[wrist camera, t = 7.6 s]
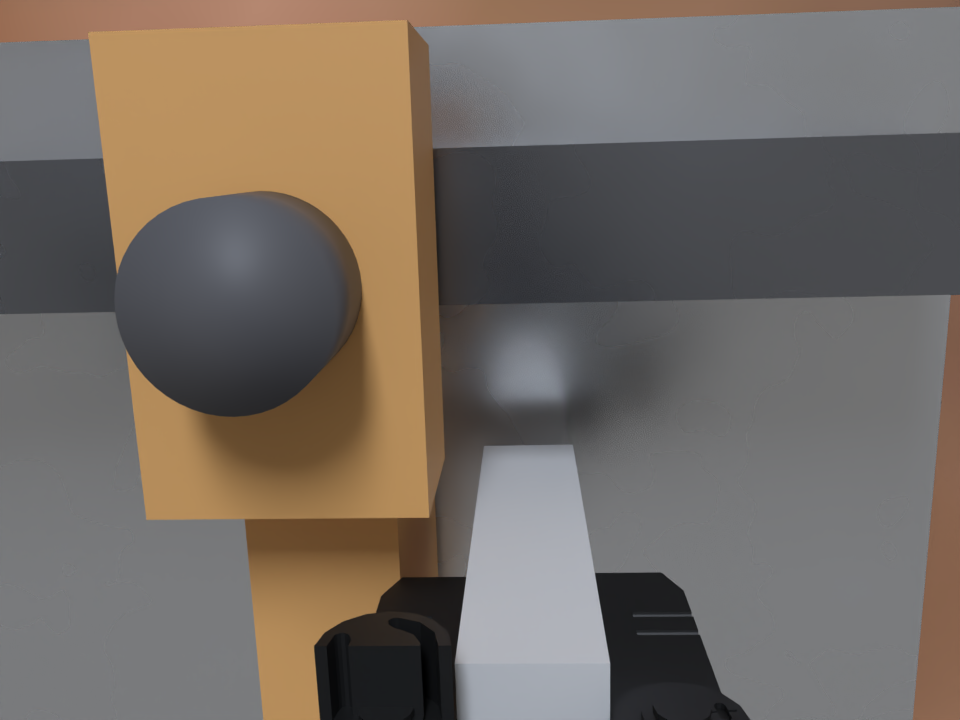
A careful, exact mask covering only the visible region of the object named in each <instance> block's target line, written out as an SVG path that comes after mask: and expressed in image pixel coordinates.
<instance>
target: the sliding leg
mask: <svg viewBox="0 0 960 720" xmlns="http://www.w3.org/2000/svg"><path fill="white" fill-rule="evenodd" d="M88 36H89V44H90V53H91V61H92V69H93V78H94V86H95V95H96V103H97V111H98V120H99V128H100V136H101V145H102V153H103V161H104V170H105V178H106V186H107V195H108V203H109V211H110V220H111V228H112V237H113V245H114V253H115V262H116V270H117V278H116V283H115V295H114V302H115V315H116V320H117V325H118V329H119V332H120V335H121V338H122V341H123V343H124V345H125V348H126V353H127V362H128V370H129V378H130V387H131V395H132V404H133V412H134V420H135V429H136V437H137V445H138V454H139V462H140V470H141V479H142V487H143V495H144V504H145V512H146V520H192V519H245V529H246V540H247V550H248V561H249V572H250V582H251V593H252V604H253V615H254V625H255V636H256V647H257V657H258V668H259V679H260V689H261V700H262V711H263V720H320V714H319V702H318V690H317V678H316V666H315V654H314V645H315V644H316V643H317V642H318V640H319V639H320V638H321V636H322V635H323V634H324V633H325V632H326V631H328V630H330V629H331V628H333V627H335V626H336V625H338V624H340V623H341V622H343V621H346V620H349V619H352V618H355V617H358V616H362V615H365V614H371V613H376V610H377V607H378V604H379V601H380V598H381V596H382V595H383V594H384V593H385V592H386V591H387V590H388V589H389V588H391V587H392V586H393V585H394V584H395V583H396V582H397V581H399V580H400V579H401V578H402V577H438V558H437V535H436V511H435V494H436V490H437V486H438V482H439V478H440V475H441V471H442V467H443V463H444V459H445V448H444V423H443V397H442V372H441V347H440V321H439V296H438V270H437V245H436V220H435V194H434V169H433V143H432V118H431V93H430V67H429V45H428V44H427V43H426V41H425V40H424V39H423V38H422V37H421V36H420V34H419V33H418V32H417V31H416V30H415V29H414V27H413V26H412V25H411V24H410V23H409V22H408V20H395V21H369V22H342V23H316V24H289V25H263V26H237V27H210V28H184V29H157V30H131V31H105V32H88Z"/></svg>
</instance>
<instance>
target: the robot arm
mask: <svg viewBox="0 0 960 720" xmlns="http://www.w3.org/2000/svg"><path fill="white" fill-rule="evenodd" d="M314 654H315V666H316V678H317V690H318V702H319V714H320V720H750V718H749V717H748V716H747V714H746V713H745V711H744V710H743V709H742V707H741V706H740V705H739V704H737V703H736V702H734V701H733V700H731V699H730V698H728V697H727V696H725V695H724V694H722V693H721V690H720V688H719V685H718V682H717V680H716V677H715V674H714V671H713V669H712V666H711V663H710V661H709V658H708V655H707V652H706V650H705V647H704V644H703V642H702V639H701V636H700V635H699V634H698V628H697V625H696V622H695V620H694V617H693V616H692V612H691V609H690V606H689V603H688V601H687V598H686V595H685V593H684V590H682V589H681V588H680V587H679V586H677V585H676V584H675V583H674V582H673V581H671V580H670V579H669V578H668V577H667V576H665V575H664V574H663V573H662V572H643V573H595V572H594V566H593V560H592V554H591V548H590V542H589V537H588V531H587V525H586V519H585V513H584V507H583V501H582V496H581V490H580V484H579V478H578V472H577V466H576V460H575V455H574V449H573V445H514V446H484V450H483V457H482V465H481V472H480V480H479V487H478V495H477V502H476V509H475V517H474V524H473V532H472V539H471V547H470V554H469V561H468V569H467V576H466V577H402V578H401V579H400V580H399V581H397V582H396V583H395V584H394V585H393V586H392V587H391V588H389V589H388V590H387V591H386V592H385V593H384V594H383V595H382V596H381V598H380V601H379V604H378V607H377V610H376V613H371V614H365V615H362V616H358V617H355V618H352V619H349V620H346V621H343V622H341V623H340V624H338V625H336V626H335V627H333V628H331V629H330V630H328V631H326V632H325V633H324V634H323V635H322V636H321V638H320V639H319V640H318V642H317V643H316V644H315V645H314Z"/></svg>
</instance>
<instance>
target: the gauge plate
mask: <svg viewBox="0 0 960 720" xmlns="http://www.w3.org/2000/svg"><path fill="white" fill-rule="evenodd" d="M414 29H415V30H416V31H417V32H418V33H419V34H420V36H421V37H422V38H423V39H424V40H425V41H426V43H427V44H428V45H429V67H430V93H431V118H432V143H433V169H434V194H435V220H436V245H437V270H438V296H439V321H440V347H441V372H442V397H443V423H444V448H445V459H444V463H443V467H442V471H441V475H440V478H439V482H438V486H437V490H436V494H435V511H436V535H437V558H438V577H466V576H467V569H468V561H469V554H470V547H471V539H472V532H473V524H474V517H475V509H476V502H477V495H478V487H479V480H480V472H481V465H482V457H483V450H484V446H514V445H573V449H574V455H575V460H576V466H577V472H578V478H579V484H580V490H581V496H582V501H583V507H584V513H585V519H586V525H587V531H588V537H589V542H590V548H591V554H592V560H593V566H594V572H595V573H643V572H662V573H663V574H664V575H665V576H667V577H668V578H669V579H670V580H671V581H673V582H674V583H675V584H676V585H677V586H679V587H680V588H681V589H682V590H684V593H685V595H686V598H687V601H688V603H689V606H690V609H691V612H692V616H693V617H694V620H695V622H696V625H697V628H698V634H699V635H700V636H701V639H702V642H703V644H704V647H705V650H706V652H707V655H708V658H709V661H710V663H711V666H712V669H713V671H714V674H715V677H716V680H717V682H718V685H719V688H720V690H721V693H722V694H724V695H725V696H727V697H728V698H730V699H731V700H733V701H734V702H736V703H737V704H739V705H740V706H741V707H742V709H743V710H744V711H745V713H746V714H747V716H748V717H749V718H750V720H913V709H914V698H915V686H916V675H917V664H918V653H919V642H920V631H921V620H922V608H923V597H924V586H925V575H926V564H927V553H928V541H929V530H930V519H931V508H932V497H933V486H934V475H935V463H936V452H937V441H938V430H939V419H940V408H941V397H942V385H943V374H944V363H945V352H946V341H947V330H948V319H949V307H950V296H951V295H960V7H943V8H916V9H890V10H863V11H836V12H809V13H783V14H756V15H729V16H702V17H676V18H649V19H622V20H596V21H569V22H542V23H515V24H489V25H462V26H435V27H414ZM116 278H117V270H116V262H115V253H114V245H113V237H112V228H111V220H110V211H109V203H108V195H107V186H106V178H105V170H104V161H103V153H102V145H101V136H100V128H99V120H98V111H97V103H96V95H95V86H94V78H93V69H92V61H91V53H90V44H89V39H88V40H61V41H34V42H8V43H0V720H263V711H262V700H261V689H260V679H259V668H258V657H257V647H256V636H255V625H254V615H253V604H252V593H251V582H250V572H249V561H248V550H247V540H246V529H245V519H192V520H146V512H145V504H144V495H143V487H142V479H141V470H140V462H139V454H138V445H137V437H136V429H135V420H134V412H133V404H132V395H131V387H130V378H129V370H128V362H127V353H126V348H125V345H124V343H123V341H122V338H121V335H120V332H119V329H118V325H117V320H116V315H115V302H114V295H115V283H116Z"/></svg>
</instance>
